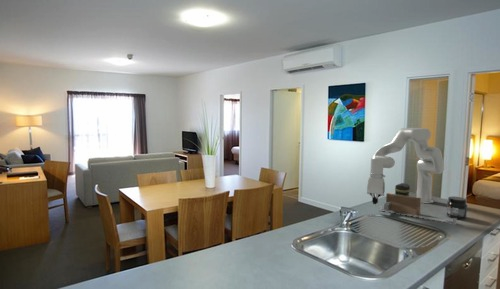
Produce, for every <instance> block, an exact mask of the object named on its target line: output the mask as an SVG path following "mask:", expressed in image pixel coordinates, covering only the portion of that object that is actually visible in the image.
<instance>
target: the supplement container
mask: <svg viewBox="0 0 500 289" xmlns="http://www.w3.org/2000/svg"><path fill="white" fill-rule="evenodd" d="M447 200H448V201H447V203H446V216H447V217H449V218H450V219H453V218H457V220H464V219H467V216H468V215H467V213H468V211H467V210H468V204H467V201H468V200H467V198H466V197H461V196H448V198H447Z"/></svg>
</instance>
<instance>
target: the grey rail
mask: <svg viewBox="0 0 500 289" xmlns="http://www.w3.org/2000/svg"><path fill="white" fill-rule="evenodd" d="M378 211H379V212H383V211H385V212H384V213H389V212H391V213H390V214H394V213H396V214H395V215H400V214H401V215H400V216H405V215H407V216H406V217H411V216H413V217H412V218H416V217H419V218H418V219H422V218H424V219H423V220H427V219H430V220H429V221H432V220H435V221H434V222H438V221H441V222H440V223H443V222H446V223H445V224H449V223H451V224H450V225H454V224H456V225H457V221H458V219H457V218H452V220H447V219H442V218H436V217H430V216H425V215H420V216H417V215H412V214H407V213H401V212H395V211H390V210H388V211H387V210H384V205H382V204H381V205H380V204H379V206H378Z"/></svg>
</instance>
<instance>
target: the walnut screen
mask: <svg viewBox="0 0 500 289" xmlns="http://www.w3.org/2000/svg"><path fill="white" fill-rule="evenodd" d="M385 200H386V201H385V203H384V205H383V209H384V210H387V211H388V210H390V211H395V212H401V213H407V214H412V215H417V216H421V215H420V214H421V204H422V203H421V198H417V196H410V195H409V196H403V195H396V194H395V193H390V192H387V193H386V196H385Z"/></svg>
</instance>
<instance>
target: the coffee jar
mask: <svg viewBox="0 0 500 289" xmlns="http://www.w3.org/2000/svg"><path fill="white" fill-rule="evenodd" d="M410 189H411V188H410V185H409V183H404V182H402V183H398V184H396V185H395V188H394V190H395V192H394V194H396V195H403V196H410Z"/></svg>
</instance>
